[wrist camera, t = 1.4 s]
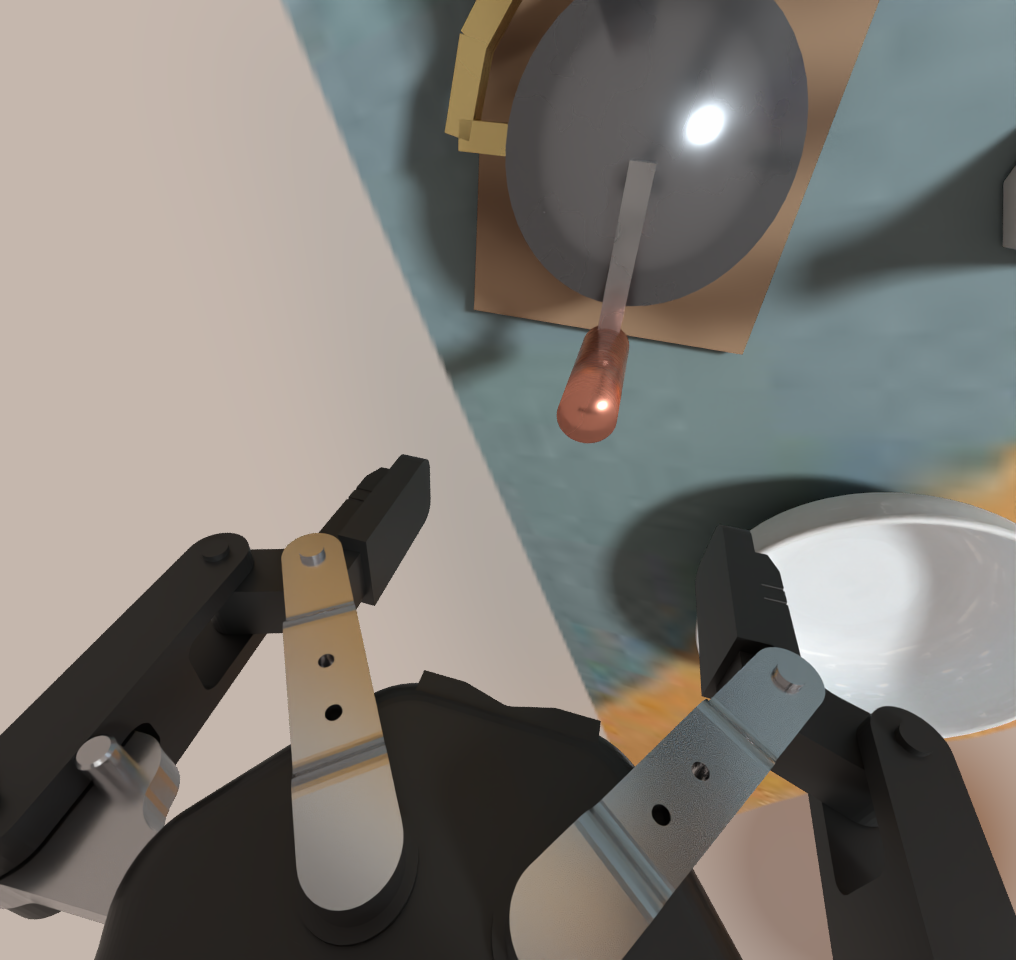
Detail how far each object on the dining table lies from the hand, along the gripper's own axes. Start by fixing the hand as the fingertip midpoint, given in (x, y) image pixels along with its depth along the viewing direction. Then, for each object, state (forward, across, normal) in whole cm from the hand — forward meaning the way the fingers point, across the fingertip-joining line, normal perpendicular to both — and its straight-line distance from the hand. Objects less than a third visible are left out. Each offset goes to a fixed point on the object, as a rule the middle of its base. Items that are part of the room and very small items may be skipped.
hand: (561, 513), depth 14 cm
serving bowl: (+20, -20, +16) cm, 33 cm away
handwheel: (+18, +2, -8) cm, 20 cm away
